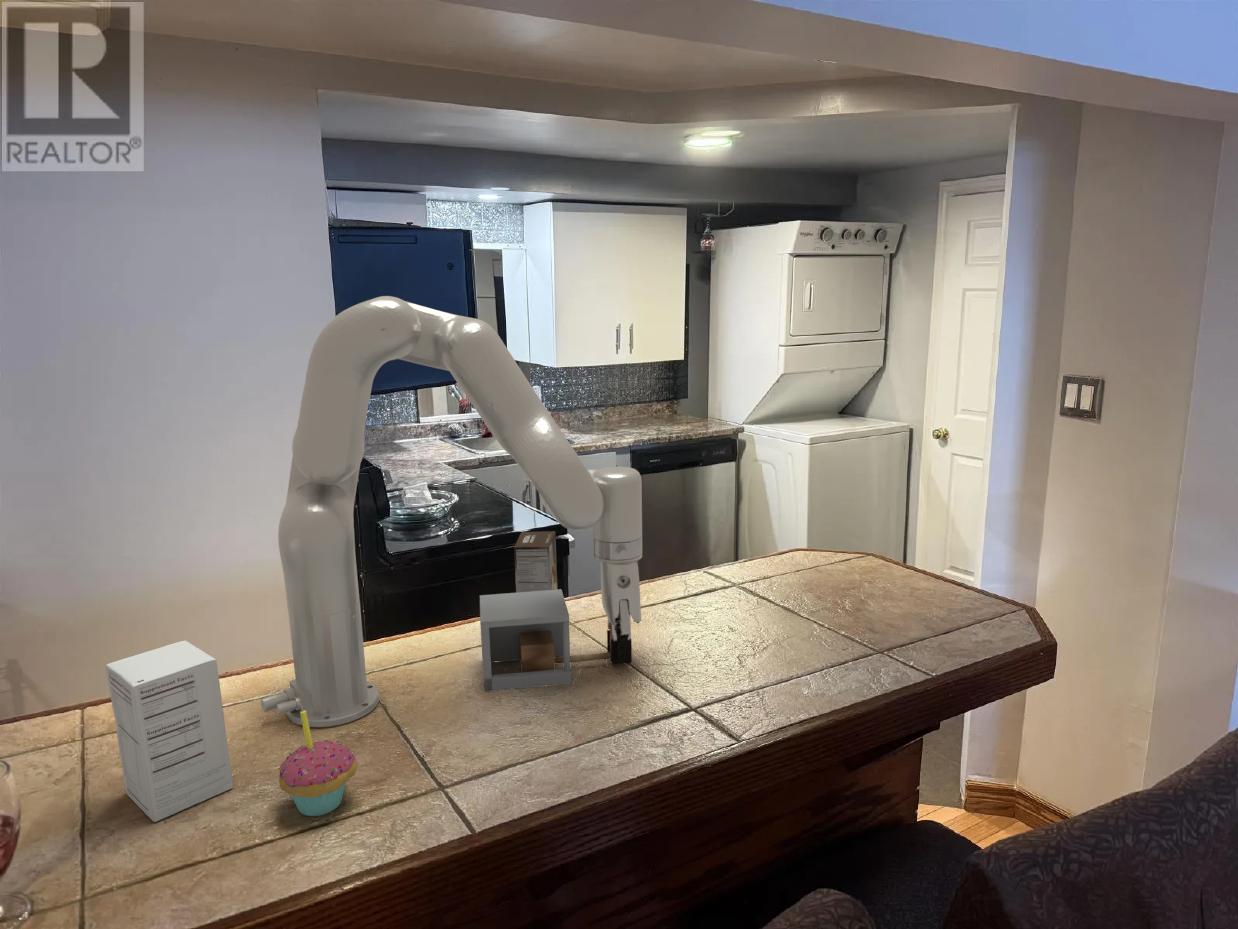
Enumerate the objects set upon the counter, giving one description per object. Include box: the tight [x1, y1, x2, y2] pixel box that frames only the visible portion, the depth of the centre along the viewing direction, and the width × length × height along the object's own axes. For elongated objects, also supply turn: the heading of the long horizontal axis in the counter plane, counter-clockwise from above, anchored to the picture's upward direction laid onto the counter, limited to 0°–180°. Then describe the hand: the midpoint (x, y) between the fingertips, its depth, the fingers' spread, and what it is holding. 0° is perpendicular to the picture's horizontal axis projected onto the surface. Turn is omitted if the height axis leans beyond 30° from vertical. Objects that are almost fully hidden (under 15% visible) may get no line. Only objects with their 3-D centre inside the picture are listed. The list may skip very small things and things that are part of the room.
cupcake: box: [278, 705, 358, 817], centre depth 96 cm, size 9×8×12 cm
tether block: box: [519, 624, 620, 673], centre depth 130 cm, size 17×5×6 cm, turn 100°
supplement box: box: [105, 640, 234, 823], centre depth 98 cm, size 10×9×17 cm
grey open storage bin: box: [479, 588, 572, 692], centre depth 129 cm, size 13×11×11 cm
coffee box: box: [513, 530, 558, 593], centre depth 146 cm, size 9×6×16 cm
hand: (619, 657), depth 132 cm, fingers closed on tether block, 2 cm apart
